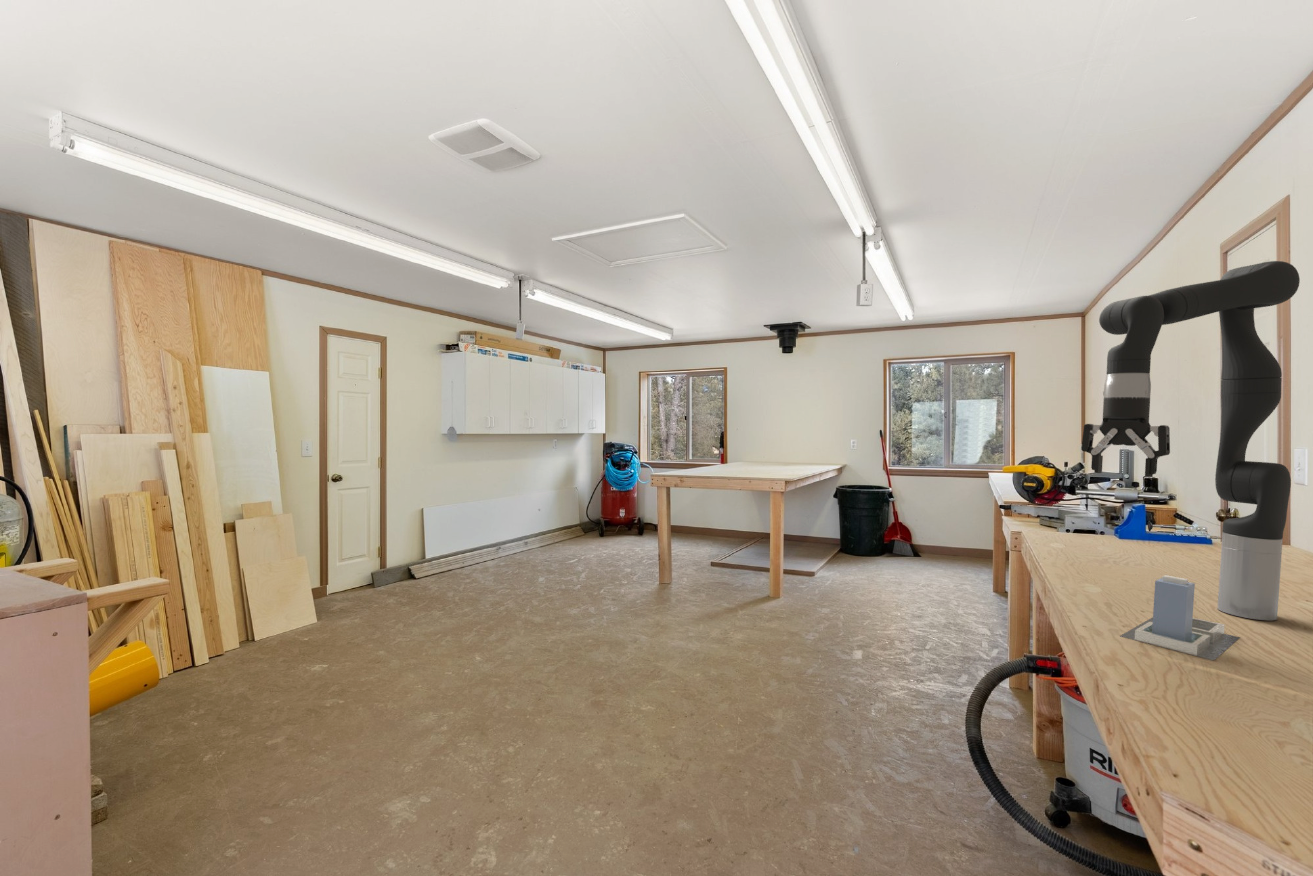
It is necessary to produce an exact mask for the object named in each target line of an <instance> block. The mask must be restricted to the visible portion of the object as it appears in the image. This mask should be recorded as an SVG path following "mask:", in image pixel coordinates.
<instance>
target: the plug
mask: <svg viewBox="0 0 1313 876" xmlns="http://www.w3.org/2000/svg"><path fill="white" fill-rule="evenodd" d="M1195 585H1196V583H1194V582H1190V581H1189V579H1187V578H1183V577H1177V576H1173V575H1172V576H1171V575H1168V574H1165V575H1162V576H1161V578H1158V579H1156V580H1155V581H1154V597H1153V611H1152V617H1153V625H1152V633H1154V634H1158V635H1162V636H1166V637H1170V638H1174V639H1178V640H1182V641H1187V642H1191V635H1192V619H1193V618H1194V615H1193V614H1194V600H1195V587H1196V586H1195Z"/></svg>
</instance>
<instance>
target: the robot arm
mask: <svg viewBox="0 0 1313 876" xmlns="http://www.w3.org/2000/svg"><path fill="white" fill-rule="evenodd" d="M1300 283H1301V282H1300V273H1299V272H1298V270H1297V268H1296V267H1295V266H1294V265H1293V264H1291V263H1289V262H1286V261H1282V260H1281V261H1279V260H1272V261H1265V262H1260V263H1255V264H1250V265H1246V266H1245V265H1244V266H1241V267H1236V268H1233V269H1229V270H1228V271H1226V272H1225V273H1224V274H1223V275H1222V276H1221V278H1220V279H1219V280H1211V281H1206V282H1201V283H1193V284H1189V285H1182V286H1179V287H1174V288H1170V289H1165V290H1161V291H1158V292H1156V293H1153V294H1150V295H1149V294H1148V295H1140V296H1137V297H1136V296H1135V297H1131V298H1127V299H1126V298H1125V299H1122V300H1116V301H1113V302H1110V303H1109V304H1108V305H1106V306H1105V307H1104V308H1103V309H1102V310H1101V312H1100V315H1099V318H1098V319H1099V320H1098V322H1099V325H1100V328H1102V329H1103V331H1104V332H1106V333H1108V334H1111V335H1116V336H1118V335H1125V337H1124V339H1123V341H1122V342H1121V343H1120V344H1118V345H1116V346H1113V347H1111V348H1109V350H1108V351H1107V358H1106V375H1105V381H1104V387H1103V391H1102V394H1103V404H1102V405H1103V407H1102V422H1101V424H1094V423H1085V424H1084V425H1083V432H1082V439H1081V448H1080V449H1081V450H1080V451H1082V452H1084V453H1088V454H1090V455H1091V467H1090V468H1091V470H1092V471H1094V473H1095V474H1101V473H1103V462H1104V461H1103V455H1102V454H1103V453H1104V452H1105V451H1106V450H1107V449H1108V448H1109V447H1110V446H1111V445H1112V446H1123V445H1124V446H1127V447H1128V446H1129V447H1131V446H1132V447H1133V446H1136V447H1138V449H1139V450H1140V451H1142V452H1143V454H1144V455H1146V458H1145V463H1144V464H1145V468H1144V477H1146V478H1152V477H1153V476H1154V475H1156V474H1157V471H1158V470H1157V469H1158V459H1159V458H1160V457H1164V456H1168V455H1170V453H1171V440H1170V438H1171V437H1170V435H1171V434H1170V427H1169V425H1166V424H1165V425H1164V424H1163V425H1162V424H1161V425H1159V426H1158V425H1157V426H1156V425H1155V426H1153V425H1151V423H1150V413H1151V412H1150V411H1151V410H1150V409H1151V393H1152V392H1151V389H1152V384H1151V383H1152V382H1151V381H1152V380H1151V360H1152V359H1151V358H1152V352H1153V349H1154V347H1155V345H1156V343H1157V340H1158V336H1159V335H1160V331H1161V328H1162V326H1166V325H1173V324H1177V323H1179V322H1180V323H1181V322H1184V321H1189V320H1193V319H1195V318H1200V317H1204V316H1206V315H1210V314H1211V315H1212V314H1215V313H1218V314H1219V315H1218V317H1219V324H1220V325H1219V327H1220V331H1221V332H1220V333H1221V374H1220V375H1221V376H1220V410H1221V411H1220V433H1219V434H1220V435H1219V443H1218V444H1219V445H1218V452H1217V459H1216V467H1215V479H1214V481H1215V483H1214V484H1215V490H1216V493H1217V495H1218V497H1219V498H1220V499H1221V500H1223V501H1226V502H1232V503H1238V504H1239V503H1240V504H1241V503H1242V504H1249V505H1256V507H1255V508H1256V509H1255V510H1254V512H1253V513H1251V514H1249V515H1246V516H1242V517H1235V518H1234V517H1233V518H1226V519H1225V520H1223V523H1222V532H1221V534H1222V535H1221V548H1220V549H1221V550H1220V565H1219V567H1220V568H1219V581H1218V582H1219V583H1218V595H1217V610H1219V611H1221V612H1223V613H1226V614H1228V615H1232V616H1237V617H1241V618H1246V619H1252V620H1257V621H1258V620H1259V621H1277V620H1278V611H1279V602H1280V601H1279V597H1280V586H1281V585H1280V583H1281V572H1282V571H1281V569H1282V568H1281V567H1282V552H1283V538H1284V531H1285V527H1286V523H1287V514H1288V506H1289V500H1290V495H1291V494H1290V493H1291V487H1292V480H1291V474H1290V473H1291V472H1290V471H1289V469H1288V468H1287V467H1286V466H1285V465H1284V464H1282V463H1276V462H1265V461H1250V460H1249V461H1248V460H1246V455H1247V454H1246V453H1247V449H1248V445H1249V442H1250V441H1251V439H1252V436H1254V434H1255V432H1256V431H1257V430H1258V429H1259V428H1260V427H1261V425H1262V424H1263V423H1264V422H1265V421H1266V420H1267V419H1268V418H1269V417H1270V416H1271V415H1272V414H1273V412H1274V411H1275V409H1276V408H1277V407H1278V405H1279V404H1280V402H1281V398H1282V382H1283V381H1282V376H1283V375H1282V374H1283V373H1282V368H1281V365H1280V363H1279V361H1278V360H1277V358H1276V357H1275V356H1274V355H1273V353H1272V352H1271V351H1270V349H1268V347H1267V346H1266V345H1265V344H1264V342H1263V341H1262V339H1261V338H1260V337H1259V335H1258V333H1257V330H1256V329H1257V328H1256V326H1255V325H1256V323H1255V309H1260V308H1267V307H1274V306H1277V305H1280V304H1282V303H1284V302H1286V301H1288V300H1290V299H1291V298H1293V297H1294V295H1295V294H1296V293H1297V291H1298V290H1299V286H1300ZM1099 431H1100V433H1102V435H1103V437H1102V438H1101V440H1100V441H1098V443H1097V444H1096V445H1095V446H1094V447H1093V443H1094V436H1095V435H1096V434H1098V432H1099ZM1151 432H1153V435H1154V436H1155V437H1157V443H1158V444H1157V445H1158V447H1157V448H1158V449H1157V450H1155V448H1154V447H1153V446H1152V444H1151V443H1150V441H1148V439H1147V438H1146V437H1148V435H1149V434H1150V433H1151Z"/></svg>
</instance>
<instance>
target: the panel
mask: <svg viewBox="0 0 1313 876" xmlns="http://www.w3.org/2000/svg"><path fill="white" fill-rule="evenodd" d="M1152 625H1153V616H1152V617H1151V618H1149V619H1147V620H1146V621H1144V622H1142V623H1141V624H1139V625H1136V626H1134V627H1133V628H1132V629H1130V630H1128V631H1126V632H1124V633H1123V634H1120V635H1119V637H1121V638H1125V639H1127V640H1132V641H1136V642H1140V643H1142V644H1143V643H1144V644H1147V645H1152V646H1155V647H1159V648H1163V649H1167V650H1171V651H1174V652H1179V653H1181V654H1186V655H1190V656H1192V657H1193V656H1194V657H1196V658H1197V657H1198V658H1202V659H1205V660H1210V661H1213V662H1214V661H1216V660H1217V659H1219V656H1221V655H1222V654H1224V652H1226V651H1227V650H1228V649H1229V648H1230V647H1232V646H1233V645H1234V644H1235V643H1236V642H1237V641H1238V640H1239V639H1241V636H1236V635H1232V634H1227V633H1225V627H1226V626H1225V624H1224V623H1219V622H1216V621H1215V622H1213V621H1209V620H1206V619H1205V620H1204V619H1201V618H1198V617H1197V618H1196V617H1193V619H1192V635H1191V642H1187V641H1182V640H1178V639H1174V638H1170V637H1166V636H1162V635H1158V634H1154V633H1152Z"/></svg>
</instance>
